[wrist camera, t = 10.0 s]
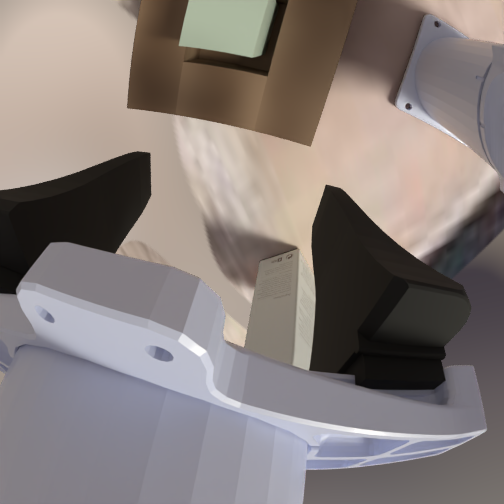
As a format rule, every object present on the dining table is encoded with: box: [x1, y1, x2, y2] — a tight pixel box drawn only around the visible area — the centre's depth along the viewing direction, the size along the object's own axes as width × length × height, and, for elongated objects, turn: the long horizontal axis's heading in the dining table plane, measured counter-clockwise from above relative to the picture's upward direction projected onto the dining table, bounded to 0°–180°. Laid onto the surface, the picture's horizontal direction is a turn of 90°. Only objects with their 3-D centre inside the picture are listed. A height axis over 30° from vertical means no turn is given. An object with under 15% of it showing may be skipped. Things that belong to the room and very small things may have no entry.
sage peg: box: [179, 0, 279, 58], centre depth 12 cm, size 4×4×6 cm
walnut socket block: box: [127, 0, 358, 147], centre depth 14 cm, size 12×12×4 cm
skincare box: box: [244, 249, 316, 370], centre depth 24 cm, size 6×4×12 cm
